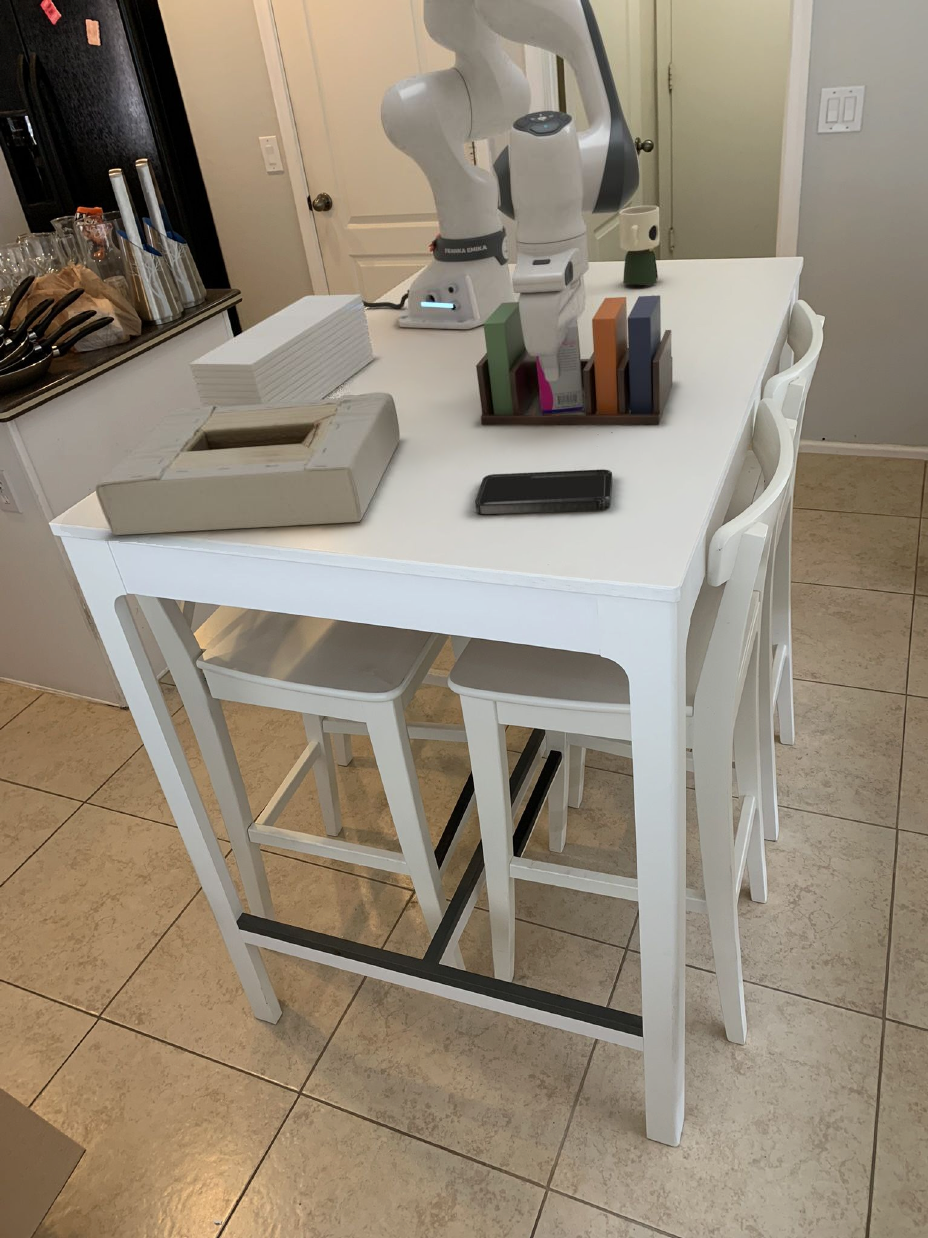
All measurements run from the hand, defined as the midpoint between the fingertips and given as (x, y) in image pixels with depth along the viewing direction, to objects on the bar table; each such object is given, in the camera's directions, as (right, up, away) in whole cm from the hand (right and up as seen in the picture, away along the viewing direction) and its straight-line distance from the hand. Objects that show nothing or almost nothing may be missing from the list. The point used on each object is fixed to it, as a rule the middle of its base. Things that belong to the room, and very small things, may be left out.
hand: (561, 366), depth 122 cm
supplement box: (+1, -5, +3) cm, 6 cm away
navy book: (+11, -5, 0) cm, 12 cm away
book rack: (+3, -5, +3) cm, 6 cm away
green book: (-6, -4, +6) cm, 9 cm away
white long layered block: (-39, +1, +21) cm, 45 cm away
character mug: (+20, +28, +47) cm, 58 cm away
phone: (-4, -20, -19) cm, 28 cm away
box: (-38, -17, -6) cm, 43 cm away
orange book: (+7, -5, +1) cm, 9 cm away
